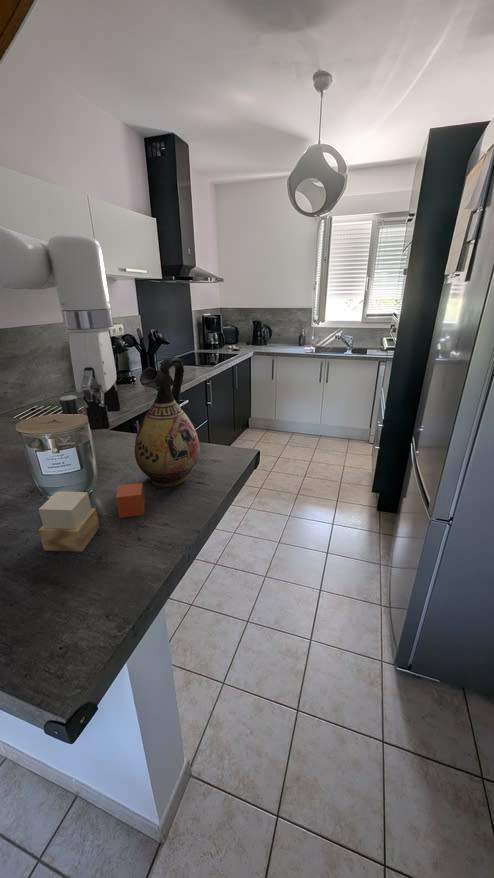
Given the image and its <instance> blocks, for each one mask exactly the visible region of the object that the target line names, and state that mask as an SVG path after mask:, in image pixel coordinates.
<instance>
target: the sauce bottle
mask: <svg viewBox="0 0 494 878" xmlns="http://www.w3.org/2000/svg"><path fill="white" fill-rule="evenodd" d="M58 400H59V405H60V406H61V412H62V415H63V414H80V415H81V411H80V408H79V400H78V396H76V395H64V396H61V397H59V399H58Z"/></svg>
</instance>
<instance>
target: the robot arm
mask: <svg viewBox="0 0 494 878" xmlns="http://www.w3.org/2000/svg"><path fill="white" fill-rule="evenodd" d="M0 287H1V288H5V289H10V290H46V289H52V288H55V289H56V293H57V297H58V302H59V307H60V312H61V316H62V321H63V326H64V331H65V333H66V334H67V333H68V340H69V351H70V359H71V366H72V373H73V377H74V378H73V379H74V384H75V385H74V386H75V390H76V392H77V393H78V394H79V395H82V394H83V396H82V400H83V401H84V408H85V411H86V416H87V421H88V426H89V429H90V430H91V431H96V430H109V429H110V427H111V423H110V418H109V413H113V412H120V411H121V404H120V398H119V397H120V396H119V391H118V386H117V383H116V381H117V367H116V362H115V356H114V350H113V346H112V339H111V337H110V333H109V332H110V331H114V330H115V327H114V320H113V312H112V308H111V307H112V306H111V300H110V296H109V295H110V294H109V289H108V288H109V287H108V280H107V275H106V269H105V261H104V255H103V251H102V247H101V245H100V242H99V241H98V240H97V239H96V238H94V237H92V236H88V235H84V234H83V235H81V234H57V235H53V236H51V237H50V239H41V238H36V237H33V236H30V235H26V234H23V233H20V232H19V231H16V230H11V229H8V228H6V227H4V226H1V225H0Z"/></svg>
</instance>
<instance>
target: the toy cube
mask: <svg viewBox="0 0 494 878" xmlns="http://www.w3.org/2000/svg"><path fill="white" fill-rule="evenodd" d="M144 489H145V488H144V483H143V482H137V483H129V484H119V485H118V486H117V491H116V494H115V501H116V506H117V507H116V508H117V513H118V514H117V515H118V518H119V519H121V518H129V517H138V516H144V515H145V509H146V497H145V491H144Z"/></svg>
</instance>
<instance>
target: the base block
mask: <svg viewBox="0 0 494 878" xmlns="http://www.w3.org/2000/svg"><path fill="white" fill-rule="evenodd" d="M100 528H101V527H100V522H99V517H98V513H97V508H95V507H93V508H92V507H91V511H90V512H89V514H88V515H87V516H86V517H85V518H84V520H83V521H82V522H81V523H80V525H79V526H78V527H77V528H76V529H62V528H44V527H43V525H42V526H41V527H39V529H38V534H39V538H40V542H41V545H42V549H43V551H54V552H81V553H82V552H84V550H85V548H86V547H87V546H88V544H89V543H90V542H91V540H92V539H93V537H94V536H96V535H95V534H96V533H98V530H99V529H100Z"/></svg>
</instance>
